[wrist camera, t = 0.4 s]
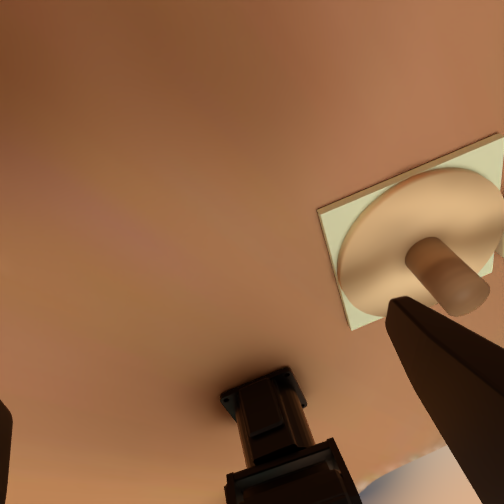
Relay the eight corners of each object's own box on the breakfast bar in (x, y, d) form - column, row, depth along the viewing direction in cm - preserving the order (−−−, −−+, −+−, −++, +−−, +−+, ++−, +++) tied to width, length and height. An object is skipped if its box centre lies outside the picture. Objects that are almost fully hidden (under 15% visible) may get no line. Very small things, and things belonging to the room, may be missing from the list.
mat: (486, 267, 32) (492, 272, 31) (348, 325, 32) (351, 330, 31) (498, 133, 24) (505, 136, 24) (316, 209, 24) (320, 214, 24)
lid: (491, 272, 31) (547, 321, 27) (351, 330, 31) (384, 388, 27) (505, 136, 24) (584, 175, 19) (320, 214, 24) (359, 269, 20)
